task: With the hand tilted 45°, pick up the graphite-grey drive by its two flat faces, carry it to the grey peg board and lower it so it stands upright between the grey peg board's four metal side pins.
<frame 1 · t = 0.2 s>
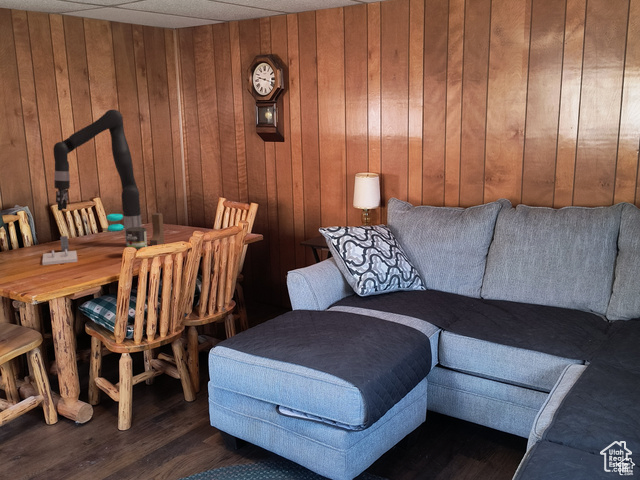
hand: (62, 209, 324), 22 cm above the table, tool pointing down, fingers open, 8 cm apart
drive: (65, 251, 325), on the table
wooden block: (157, 246, 335), on the table
coffee can: (137, 255, 314), on the table
grey peg board: (60, 259, 308), on the table
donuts: (115, 230, 383), on the table
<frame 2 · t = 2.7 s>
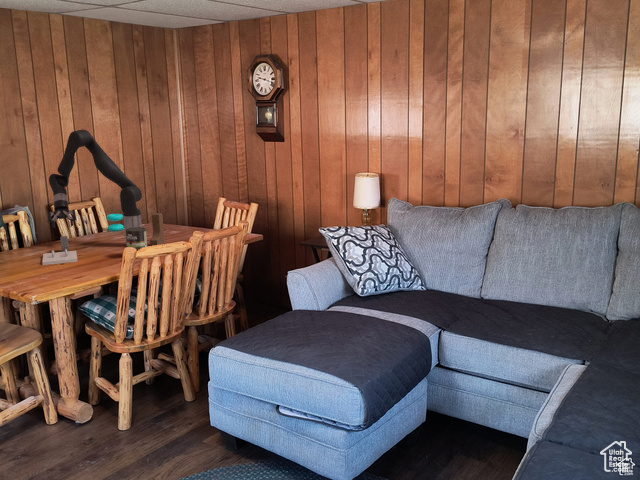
hand: (63, 226, 330), 12 cm above the table, tool tilted 45°, fingers open, 8 cm apart
nothing on the table moved.
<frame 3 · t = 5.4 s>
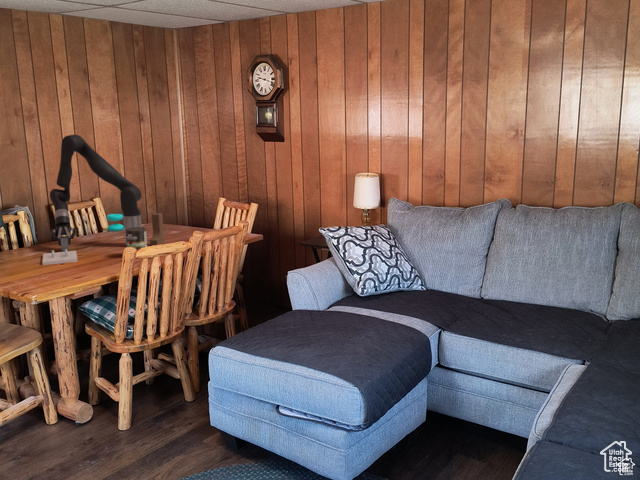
hand: (64, 244, 322), 4 cm above the table, tool tilted 45°, fingers closed on drive, 3 cm apart
drive: (65, 251, 325), on the table, touching gripper
everything else where it was.
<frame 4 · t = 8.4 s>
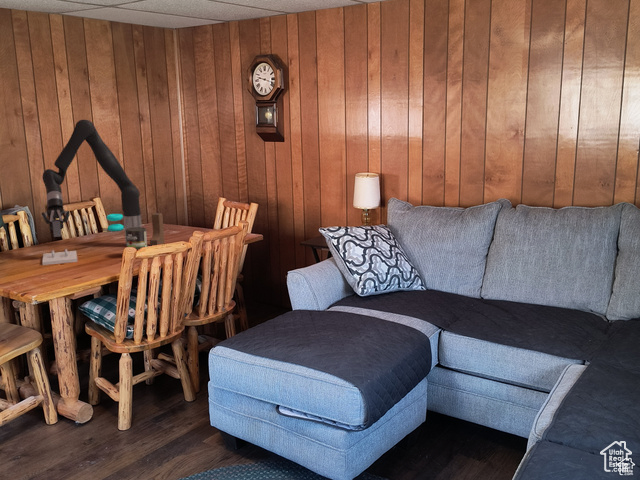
hand: (57, 228, 305), 16 cm above the table, tool tilted 45°, fingers closed on drive, 3 cm apart
drive: (57, 235, 308), point 12 cm above the table, touching gripper
everything else where it was.
when the fingers open (6 cm above the table, at t = 11.2 s): drive stays where it is, resting on grey peg board.
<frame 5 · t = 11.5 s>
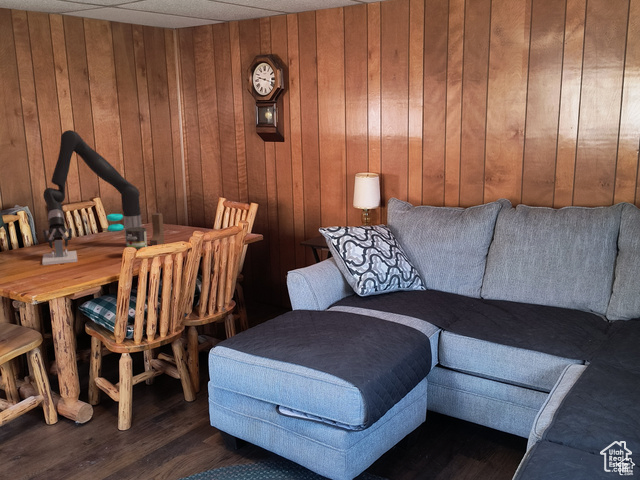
hand: (58, 246, 305), 7 cm above the table, tool tilted 45°, fingers open, 6 cm apart
drive: (59, 256, 308), point 1 cm above the table, touching grey peg board
everything else where it was.
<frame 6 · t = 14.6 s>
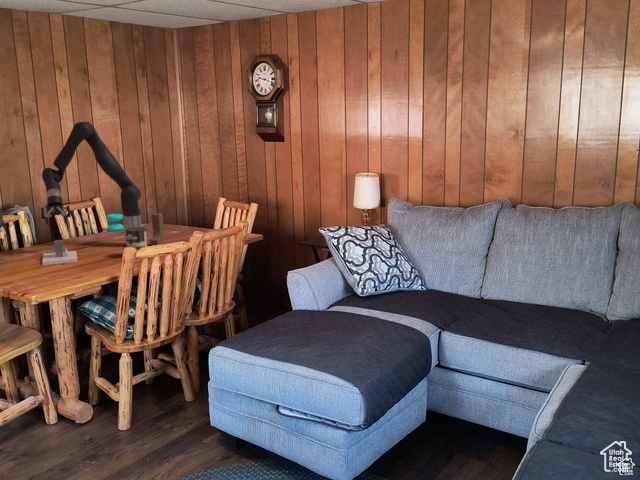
hand: (56, 223, 314), 17 cm above the table, tool tilted 45°, fingers open, 8 cm apart
nothing on the table moved.
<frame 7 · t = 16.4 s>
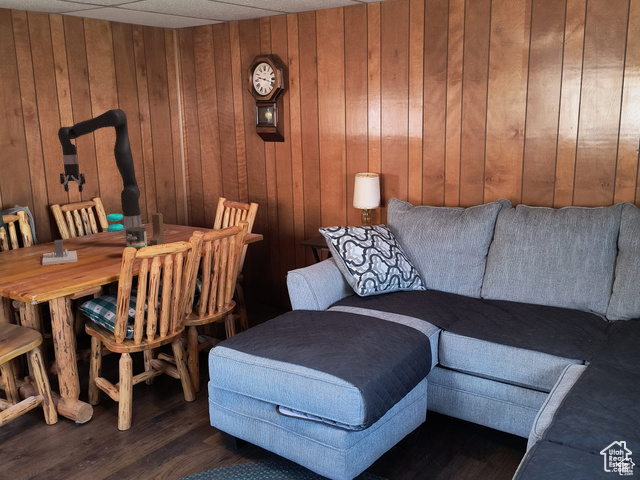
hand: (73, 191, 339), 30 cm above the table, tool pointing down, fingers open, 8 cm apart
nothing on the table moved.
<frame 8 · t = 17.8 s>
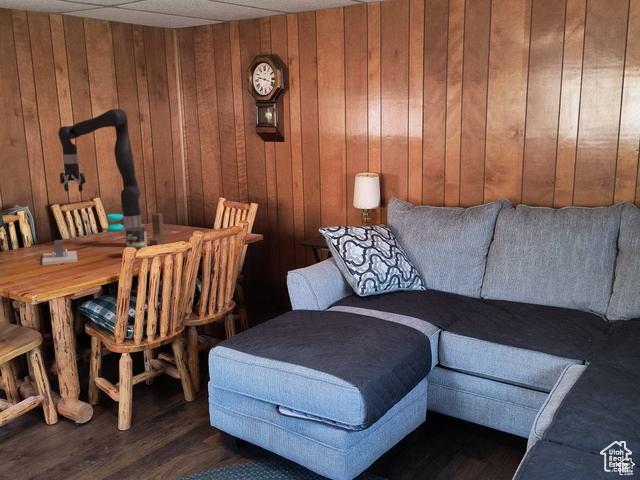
hand: (73, 191, 339), 30 cm above the table, tool pointing down, fingers open, 8 cm apart
nothing on the table moved.
at the end: drive 0.1 cm off-centre on the grey peg board, point 1.5 cm above the grey peg board's base; drive tilted 0°; the gripper is holding nothing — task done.
